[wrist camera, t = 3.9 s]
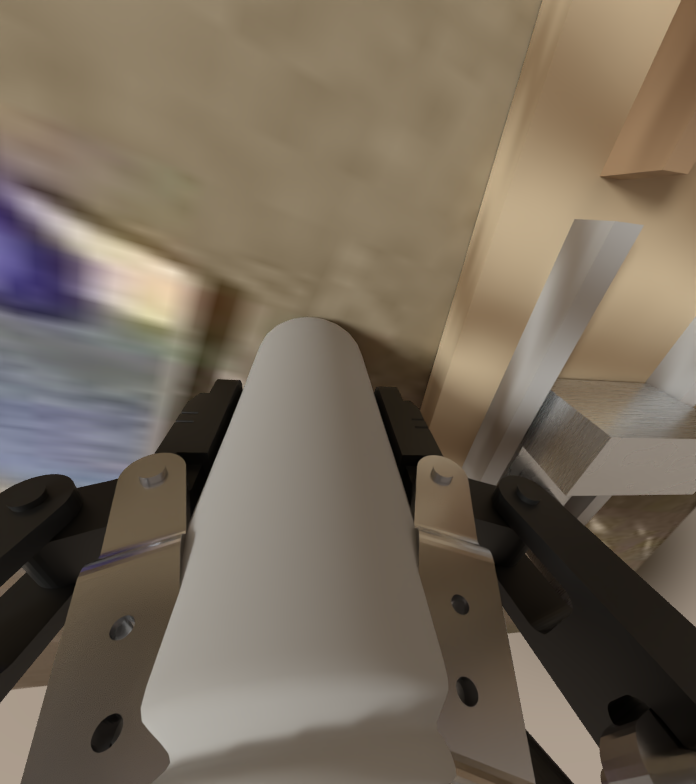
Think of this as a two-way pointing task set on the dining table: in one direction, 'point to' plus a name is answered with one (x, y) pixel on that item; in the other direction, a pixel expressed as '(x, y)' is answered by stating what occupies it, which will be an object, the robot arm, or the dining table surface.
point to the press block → (607, 445)
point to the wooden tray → (578, 233)
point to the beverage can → (301, 593)
